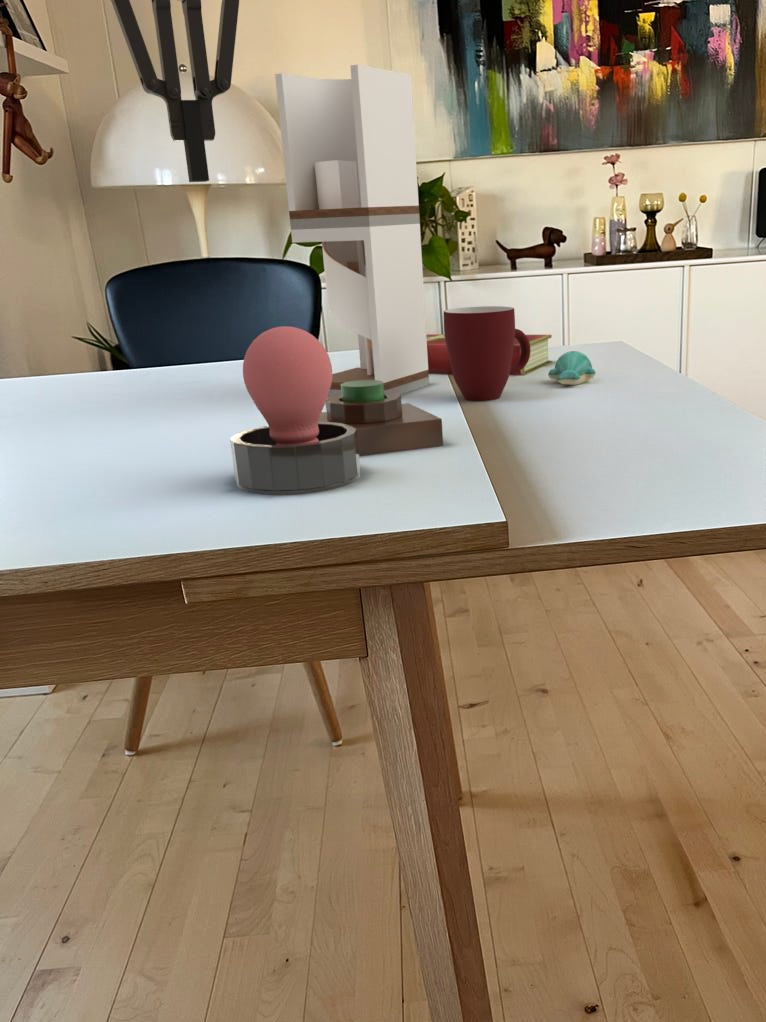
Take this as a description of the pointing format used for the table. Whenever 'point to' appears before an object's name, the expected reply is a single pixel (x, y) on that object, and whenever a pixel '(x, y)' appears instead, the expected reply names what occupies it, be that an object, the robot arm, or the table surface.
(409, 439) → the lamp base
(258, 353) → the light bulb
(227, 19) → the robot arm
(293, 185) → the white shelf unit
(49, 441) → the table surface
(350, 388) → the button
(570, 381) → the toy turtle
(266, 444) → the lamp socket
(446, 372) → the hardcover book
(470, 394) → the mug
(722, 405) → the table surface
